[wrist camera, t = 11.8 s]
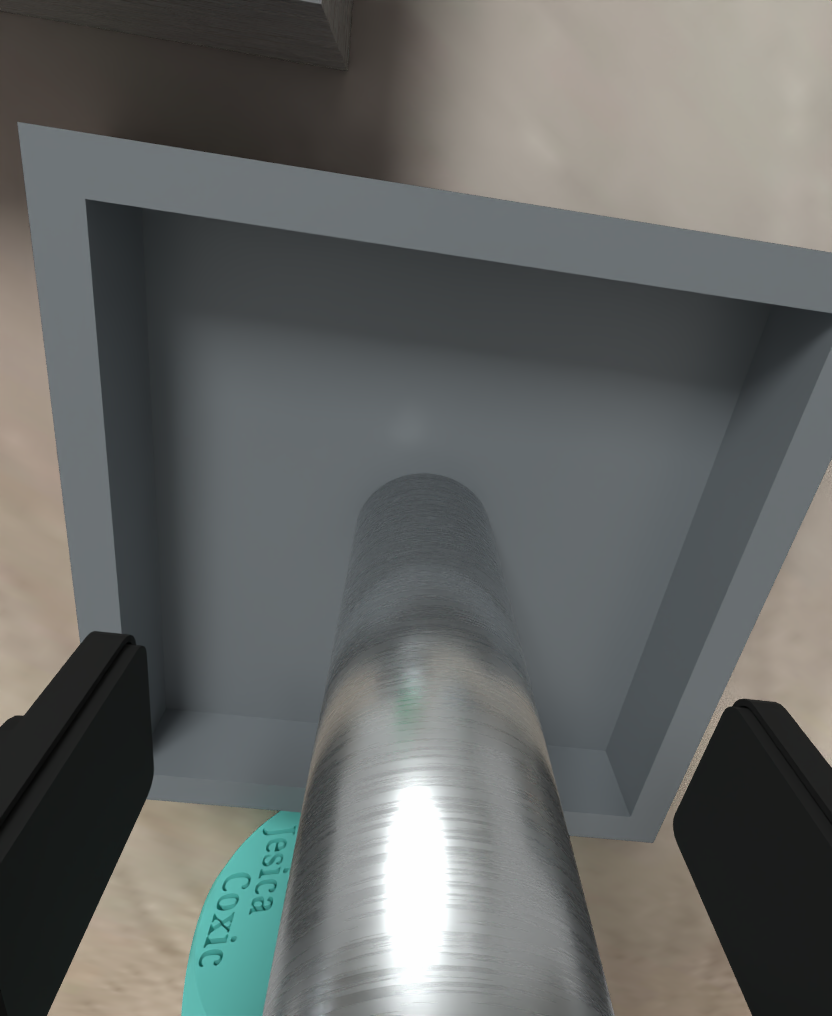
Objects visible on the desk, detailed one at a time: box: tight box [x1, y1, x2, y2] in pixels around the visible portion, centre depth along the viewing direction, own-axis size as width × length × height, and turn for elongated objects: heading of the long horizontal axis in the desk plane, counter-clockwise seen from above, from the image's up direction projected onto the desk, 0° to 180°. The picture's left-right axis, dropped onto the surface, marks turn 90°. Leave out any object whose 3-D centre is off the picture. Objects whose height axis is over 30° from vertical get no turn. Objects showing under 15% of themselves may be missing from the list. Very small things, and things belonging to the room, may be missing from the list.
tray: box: [17, 122, 832, 843], centre depth 15 cm, size 16×16×3 cm
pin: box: [262, 473, 615, 1016], centre depth 10 cm, size 4×4×13 cm
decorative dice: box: [181, 811, 301, 1016], centre depth 19 cm, size 8×8×8 cm
